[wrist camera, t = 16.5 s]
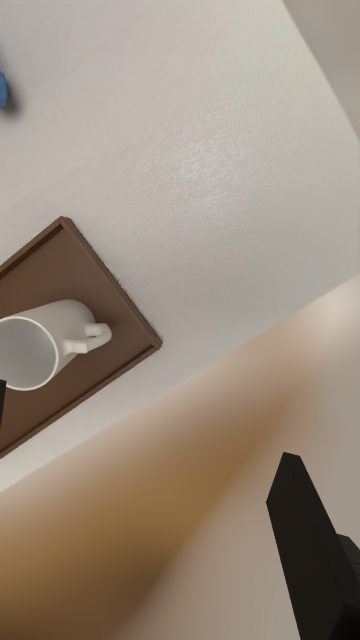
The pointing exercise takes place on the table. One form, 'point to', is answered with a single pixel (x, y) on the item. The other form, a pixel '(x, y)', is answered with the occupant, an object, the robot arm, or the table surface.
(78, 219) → the table surface
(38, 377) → the mug
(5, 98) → the blue sphere cluster
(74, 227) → the tray
